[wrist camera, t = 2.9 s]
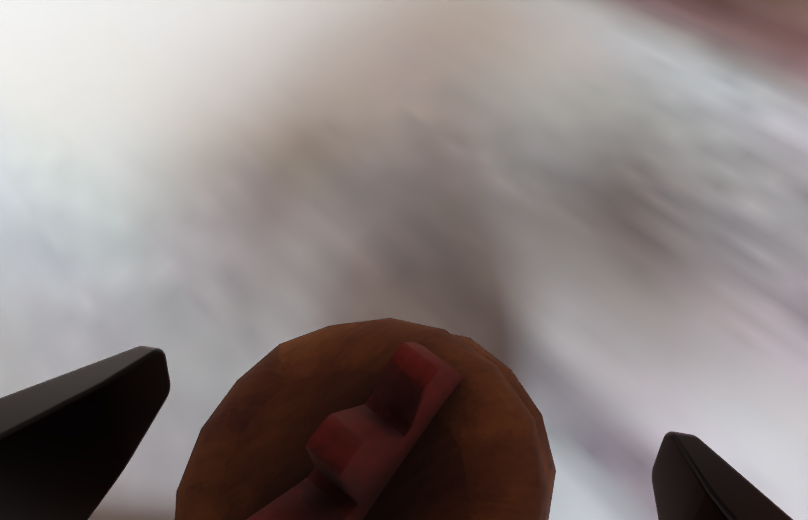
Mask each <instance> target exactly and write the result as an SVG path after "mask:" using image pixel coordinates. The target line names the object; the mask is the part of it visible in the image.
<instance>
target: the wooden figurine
mask: <svg viewBox="0 0 808 520" xmlns="http://www.w3.org/2000/svg"><path fill="white" fill-rule="evenodd" d="M555 473H556V469H555V465H554V461H553V457H552V453H551V449H550V445H549V441H548V437H547V433H546V429H545V425H544V421H543V417H542V414H541V413H540V411H539V410H538V408H537V407H536V405H535V404H534V402H533V401H532V399H531V398H530V397H529V395H528V394H527V392H526V391H525V389H524V388H523V386H522V385H521V383H520V382H519V381H518V379H517V378H516V376H515V375H514V373H513V372H512V370H511V369H509V368H508V367H507V366H505V365H504V364H503V363H502V362H500V361H499V360H498V359H496V358H495V357H494V356H492V355H491V354H490V353H489V352H487V351H486V350H485V349H483V348H482V347H481V346H480V345H478V344H477V343H476V342H474V341H473V340H472V339H471V338H468V337H463V336H458V335H453V334H450V333H449V332H448V331H446V330H444V329H439V328H434V327H430V326H425V325H420V324H415V323H411V322H406V321H401V320H397V319H392V318H388V319H380V320H371V321H363V322H355V323H347V324H338V325H332V326H328V327H325V328H322V329H320V330H317V331H314V332H311V333H309V334H306V335H303V336H300V337H298V338H295V339H292V340H290V341H287V342H284V343H281V344H279V345H278V346H277V347H276V348H275V349H273V350H272V351H271V352H270V353H269V354H268V355H266V356H265V357H264V358H263V359H262V360H261V361H259V362H258V363H257V364H256V365H255V366H254V367H252V368H251V369H250V370H249V371H248V372H247V373H245V374H244V375H243V376H242V377H241V378H240V379H238V380H237V381H236V383H235V384H234V385H233V387H232V388H231V389H230V391H229V392H228V394H227V395H226V396H225V398H224V399H223V400H222V402H221V403H220V404H219V406H218V407H217V408H216V410H215V411H214V412H213V414H212V415H211V416H210V418H209V419H208V420H207V422H206V423H205V424H204V426H203V427H202V429H201V431H200V433H199V436H198V438H197V441H196V443H195V446H194V448H193V451H192V454H191V456H190V459H189V461H188V464H187V466H186V469H185V472H184V474H183V477H182V479H181V482H180V484H179V487H178V489H177V493H176V511H175V520H548V519H549V512H550V506H551V499H552V493H553V486H554V480H555Z"/></svg>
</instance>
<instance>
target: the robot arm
mask: <svg viewBox="0 0 808 520" xmlns="http://www.w3.org/2000/svg"><path fill="white" fill-rule="evenodd" d="M169 391H170V379H169V373H168V367H167V361H166V356H165V353H164V352H163V350H161V349H159V348H153V347H147V346H139V347H136V348H133V349H131V350H128V351H125V352H123V353H120V354H117V355H115V356H112V357H109V358H107V359H104V360H101V361H99V362H96V363H93V364H91V365H88V366H85V367H83V368H80V369H77V370H75V371H72V372H69V373H67V374H64V375H61V376H59V377H56V378H53V379H51V380H48V381H45V382H42V383H40V384H37V385H34V386H32V387H29V388H26V389H24V390H21V391H18V392H16V393H13V394H10V395H8V396H5V397H2V398H0V520H88V519H89V517H90V516H91V514H92V513H93V512H94V510H95V509H96V508H97V506H98V505H99V503H100V502H101V501H102V499H103V498H104V497H105V495H106V494H107V492H108V491H109V490H110V488H111V487H112V486H113V484H114V483H115V481H116V480H117V479H118V477H119V476H120V474H121V473H122V471H123V470H124V469H125V467H126V465H127V464H128V462H129V461H130V459H131V457H132V456H133V454H134V452H135V451H136V449H137V447H138V446H139V444H140V442H141V441H142V439H143V437H144V436H145V434H146V432H147V431H148V429H149V427H150V425H151V424H152V422H153V420H154V419H155V417H156V415H157V414H158V412H159V410H160V409H161V407H162V405H163V404H164V402H165V400H166V398H167V396H168V394H169ZM652 484H653V490H654V496H655V502H656V507H657V513H658V519H659V520H793V519H792V518H791V517H789V516H788V515H787V514H786V513H785V512H784V511H782V510H781V509H780V508H779V507H778V506H777V505H775V504H774V503H773V502H772V501H771V500H770V499H769V498H767V497H766V496H765V495H764V494H763V493H762V492H760V491H759V490H758V489H757V488H756V487H755V486H753V485H752V484H751V483H750V482H749V481H748V480H747V479H745V478H744V477H743V476H742V475H741V474H740V473H738V472H737V471H736V470H735V469H734V468H733V467H731V466H730V465H729V464H728V463H727V462H726V461H725V460H723V459H722V458H721V457H720V456H719V455H718V454H716V453H715V452H714V451H713V450H712V449H711V448H709V447H708V446H707V445H706V444H705V443H704V442H703V441H701V440H700V439H699V438H698V437H696V436H694V435H691V434H685V433H679V432H668V433H667V434H666V435H665V436H664V438H663V441H662V444H661V446H660V449H659V452H658V455H657V457H656V460H655V463H654V466H653V470H652Z"/></svg>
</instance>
